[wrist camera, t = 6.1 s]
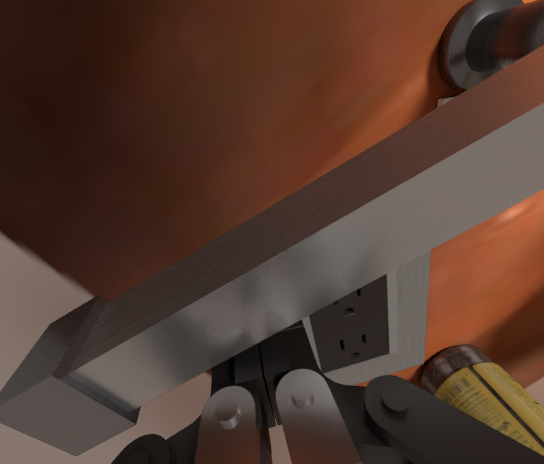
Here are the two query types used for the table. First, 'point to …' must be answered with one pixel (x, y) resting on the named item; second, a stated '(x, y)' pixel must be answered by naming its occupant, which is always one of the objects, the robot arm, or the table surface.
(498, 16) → the arm post
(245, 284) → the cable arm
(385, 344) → the electrical outlet
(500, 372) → the sauce bottle
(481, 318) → the table surface
